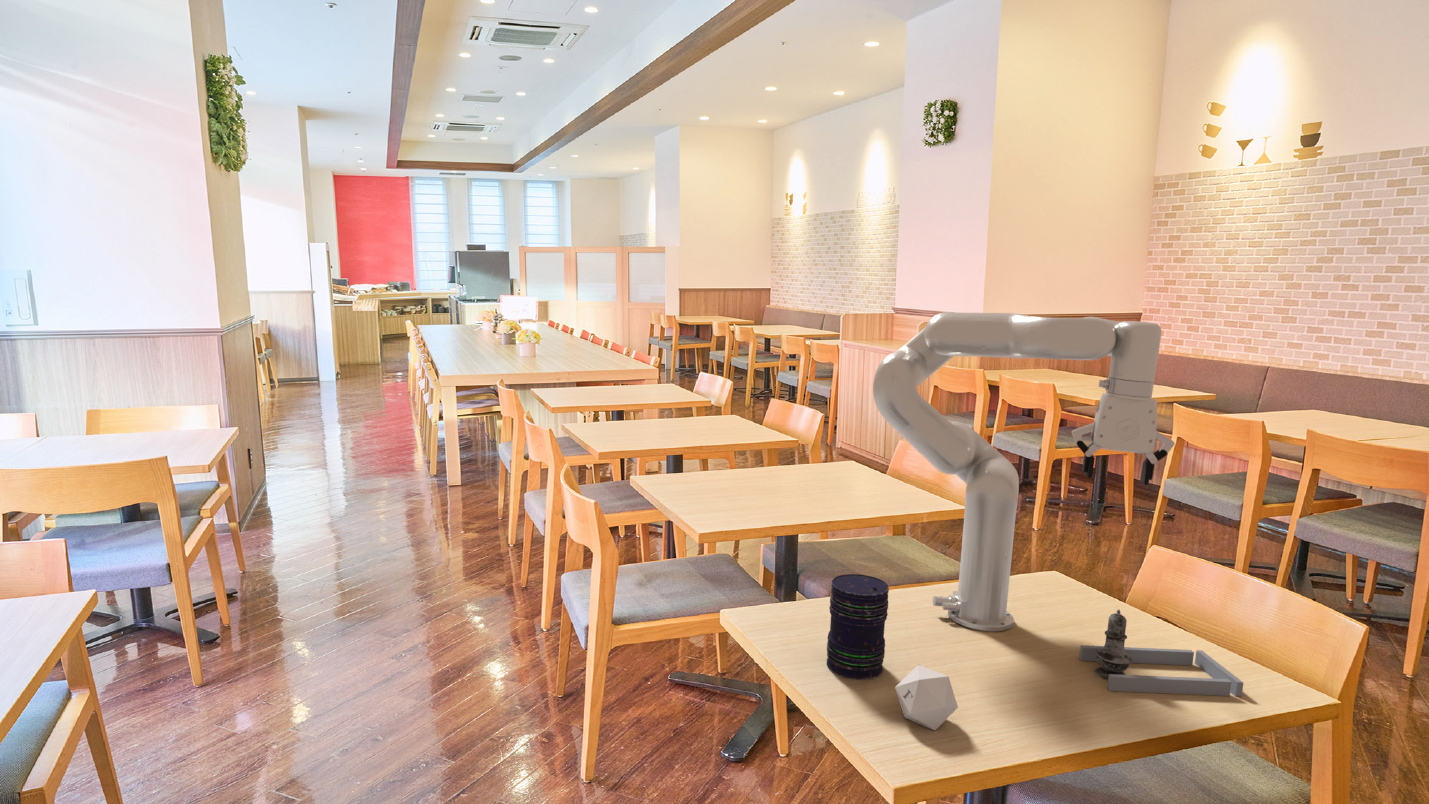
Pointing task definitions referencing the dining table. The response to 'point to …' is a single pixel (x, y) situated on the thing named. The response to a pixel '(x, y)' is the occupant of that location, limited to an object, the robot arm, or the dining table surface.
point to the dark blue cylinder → (857, 626)
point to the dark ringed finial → (1113, 648)
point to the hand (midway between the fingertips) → (1115, 479)
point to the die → (926, 697)
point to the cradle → (1173, 685)
